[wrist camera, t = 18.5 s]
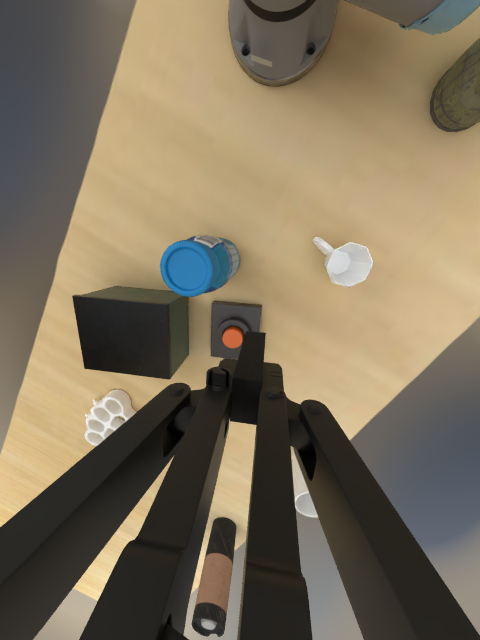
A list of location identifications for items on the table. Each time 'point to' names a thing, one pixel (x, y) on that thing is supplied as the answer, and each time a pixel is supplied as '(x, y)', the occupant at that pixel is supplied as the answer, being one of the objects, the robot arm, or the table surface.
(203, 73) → the table surface
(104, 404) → the white holed block
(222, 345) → the control pad
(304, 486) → the drinking glass
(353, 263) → the cup
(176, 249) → the beverage bottle
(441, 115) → the thermos
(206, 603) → the travel mug
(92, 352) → the box lid
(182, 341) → the green box
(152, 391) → the table surface
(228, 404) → the robot arm
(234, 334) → the button
